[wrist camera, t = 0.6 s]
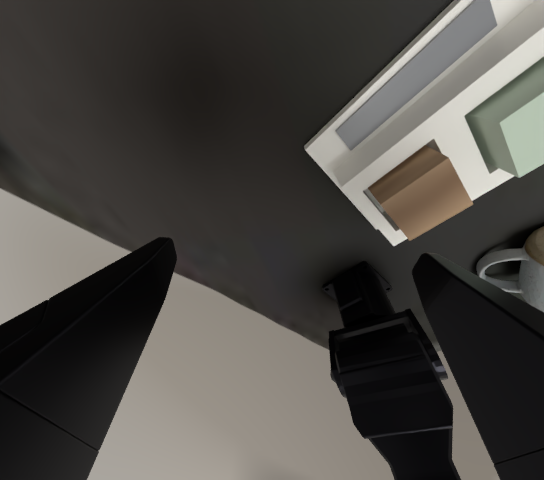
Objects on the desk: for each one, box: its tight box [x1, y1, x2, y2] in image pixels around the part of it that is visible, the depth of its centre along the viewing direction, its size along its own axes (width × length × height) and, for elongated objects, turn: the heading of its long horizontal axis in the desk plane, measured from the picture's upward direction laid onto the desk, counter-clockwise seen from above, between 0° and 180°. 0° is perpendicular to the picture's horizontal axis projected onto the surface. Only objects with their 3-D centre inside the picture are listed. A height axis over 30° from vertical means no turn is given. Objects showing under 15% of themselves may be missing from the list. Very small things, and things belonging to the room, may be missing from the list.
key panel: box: [304, 0, 544, 246], centre depth 16 cm, size 11×16×4 cm
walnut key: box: [368, 145, 473, 241], centre depth 16 cm, size 4×4×3 cm
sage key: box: [464, 57, 544, 178], centre depth 13 cm, size 4×4×3 cm
